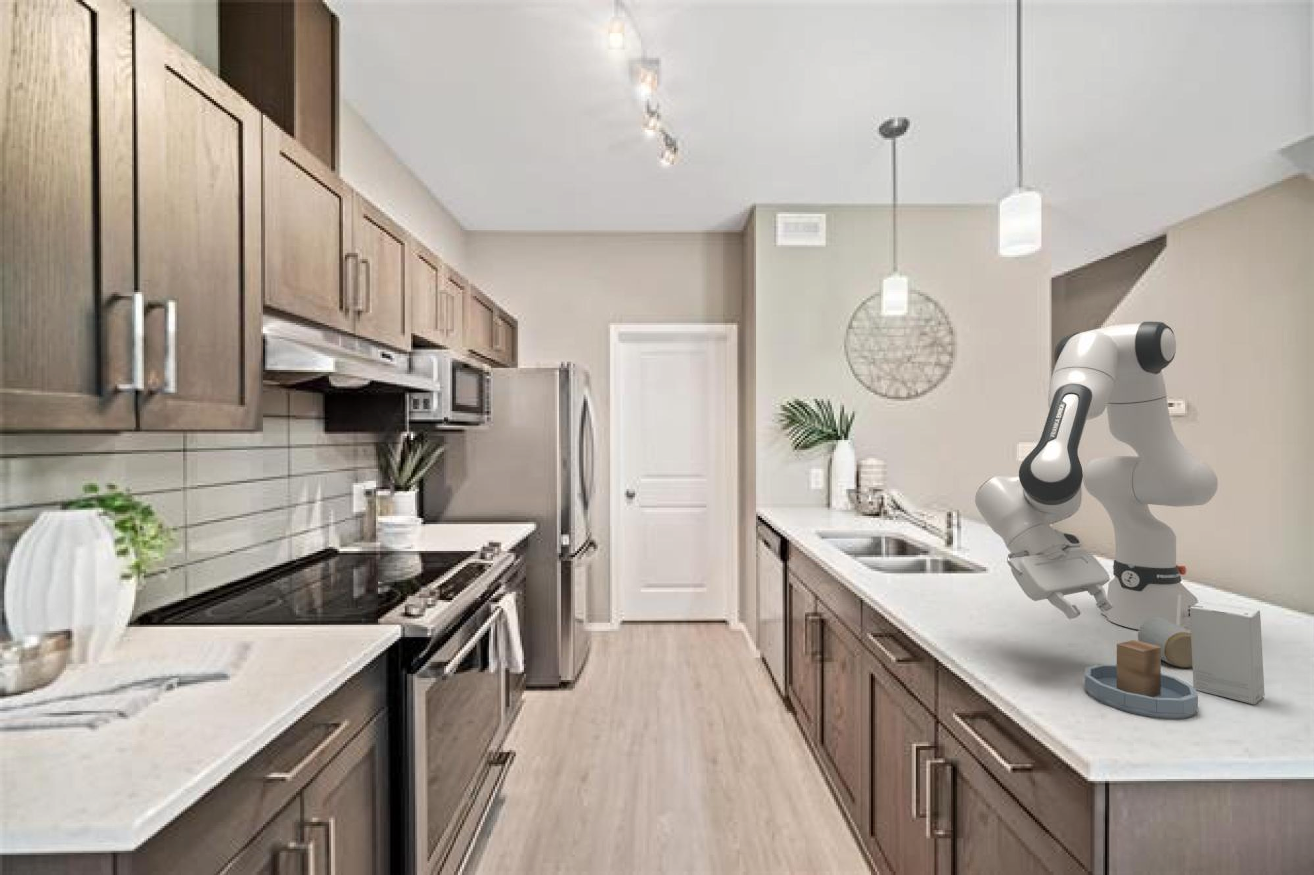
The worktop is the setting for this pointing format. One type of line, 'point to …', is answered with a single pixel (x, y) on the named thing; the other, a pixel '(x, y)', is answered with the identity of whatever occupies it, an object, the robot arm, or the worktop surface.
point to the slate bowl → (1171, 704)
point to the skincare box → (1227, 651)
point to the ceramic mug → (1168, 641)
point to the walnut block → (1139, 668)
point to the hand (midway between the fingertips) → (1092, 613)
